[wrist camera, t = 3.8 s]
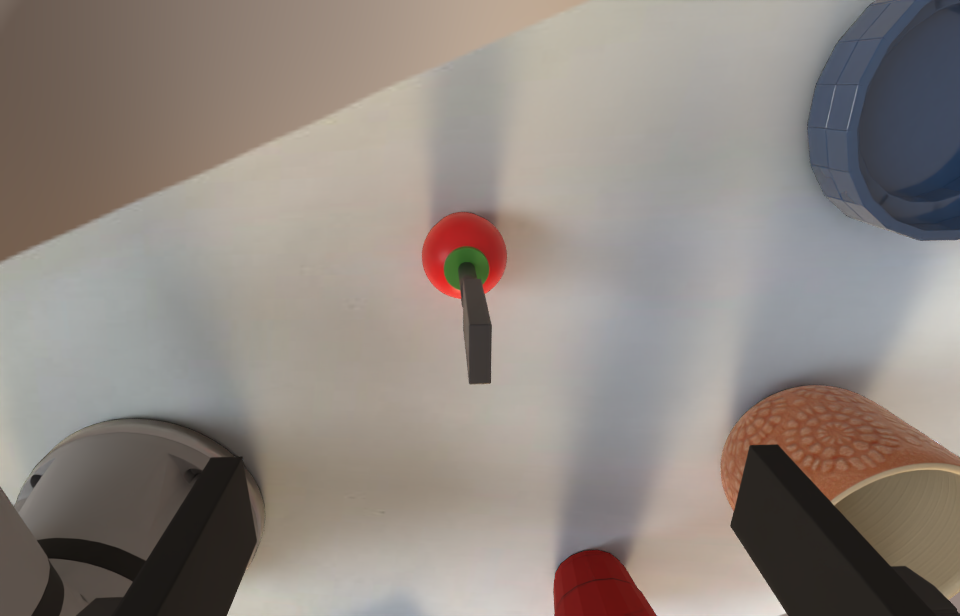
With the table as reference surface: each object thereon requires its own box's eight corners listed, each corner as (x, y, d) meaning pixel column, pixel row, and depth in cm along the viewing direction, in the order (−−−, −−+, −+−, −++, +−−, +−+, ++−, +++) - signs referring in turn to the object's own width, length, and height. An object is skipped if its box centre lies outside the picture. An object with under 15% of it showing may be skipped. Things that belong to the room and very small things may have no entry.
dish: (778, 225, 35) (819, 242, 31) (834, -37, 29) (891, -55, 26) (990, 223, 36) (1054, 238, 32) (1080, -32, 30) (1169, -48, 27)
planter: (752, 342, 38) (868, 436, 27) (897, 389, 40) (1053, 492, 30) (670, 483, 42) (744, 610, 32) (806, 519, 44) (915, 648, 34)
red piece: (424, 282, 34) (415, 415, 20) (421, 205, 33) (409, 294, 19) (500, 280, 35) (543, 410, 21) (502, 204, 33) (549, 290, 19)
